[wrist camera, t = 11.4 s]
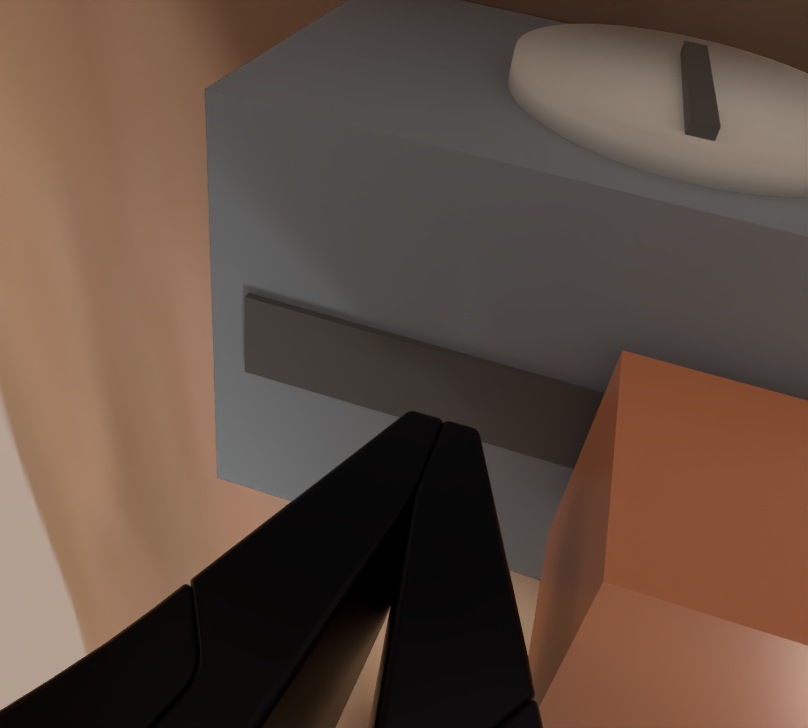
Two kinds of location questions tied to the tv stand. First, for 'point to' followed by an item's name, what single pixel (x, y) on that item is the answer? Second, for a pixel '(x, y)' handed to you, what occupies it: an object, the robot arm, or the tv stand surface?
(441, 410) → the box
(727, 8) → the tv stand surface
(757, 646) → the block
